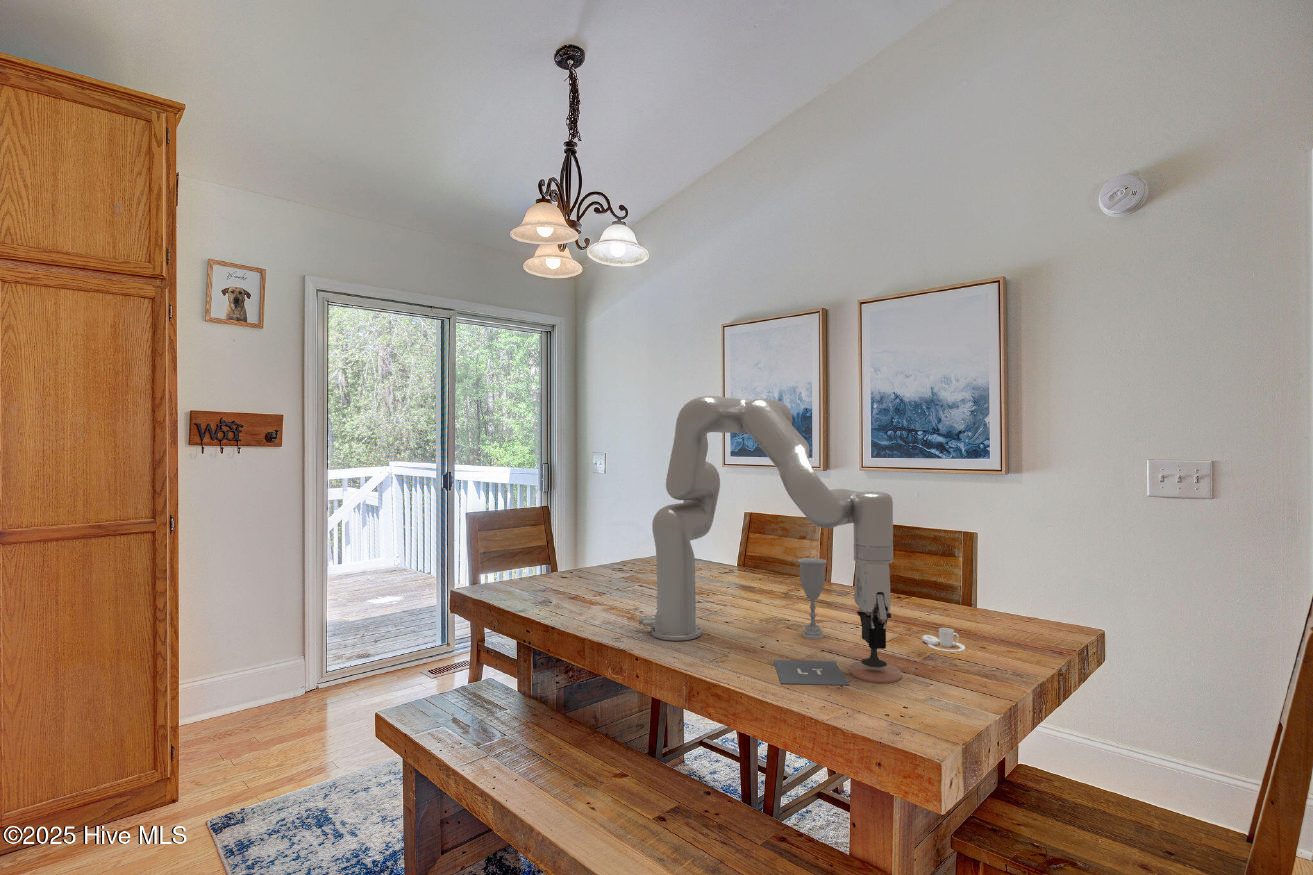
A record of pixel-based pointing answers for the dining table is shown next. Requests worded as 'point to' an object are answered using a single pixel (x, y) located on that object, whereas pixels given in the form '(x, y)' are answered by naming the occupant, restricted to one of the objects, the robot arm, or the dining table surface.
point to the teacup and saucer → (943, 640)
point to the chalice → (812, 590)
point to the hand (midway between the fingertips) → (873, 642)
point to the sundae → (865, 623)
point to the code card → (809, 672)
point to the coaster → (875, 673)
